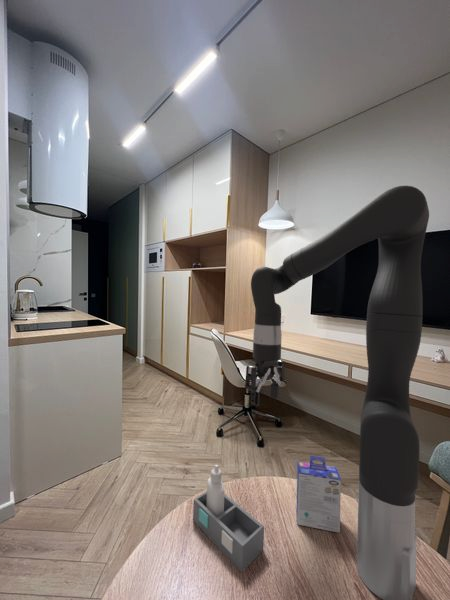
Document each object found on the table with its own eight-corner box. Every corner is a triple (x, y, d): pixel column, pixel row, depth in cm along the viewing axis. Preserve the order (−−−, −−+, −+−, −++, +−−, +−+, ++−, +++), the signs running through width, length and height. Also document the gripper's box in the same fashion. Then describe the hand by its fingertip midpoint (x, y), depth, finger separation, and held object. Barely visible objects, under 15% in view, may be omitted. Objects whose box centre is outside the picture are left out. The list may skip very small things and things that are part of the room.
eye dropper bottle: (224, 508, 63) (226, 459, 63) (223, 527, 57) (225, 474, 57) (206, 506, 63) (208, 457, 63) (203, 526, 57) (205, 472, 58)
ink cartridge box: (335, 515, 64) (337, 456, 64) (341, 534, 58) (343, 470, 59) (295, 507, 66) (296, 451, 66) (296, 525, 60) (298, 464, 61)
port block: (263, 549, 54) (264, 526, 54) (240, 573, 49) (241, 547, 49) (214, 505, 65) (214, 485, 65) (191, 521, 60) (192, 499, 60)
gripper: (262, 345, 61) (259, 413, 61) (293, 341, 71) (291, 399, 71) (239, 341, 66) (237, 403, 66) (271, 338, 76) (269, 392, 76)
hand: (265, 401), depth 68 cm, fingers open, 8 cm apart
